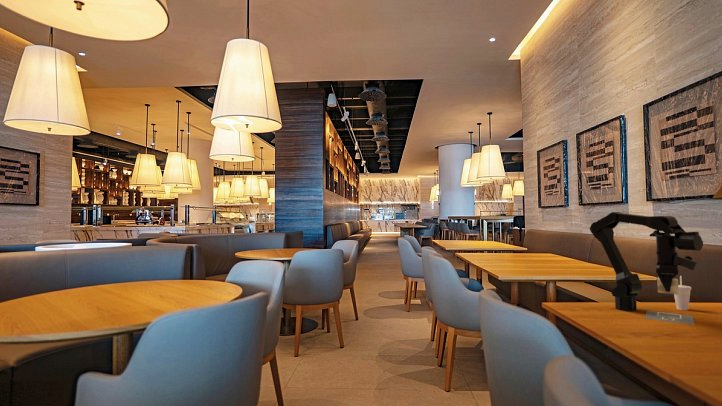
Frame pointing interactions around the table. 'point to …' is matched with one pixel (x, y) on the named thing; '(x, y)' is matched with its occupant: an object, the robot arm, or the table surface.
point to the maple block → (673, 289)
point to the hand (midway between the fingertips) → (667, 290)
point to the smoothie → (682, 296)
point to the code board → (670, 317)
